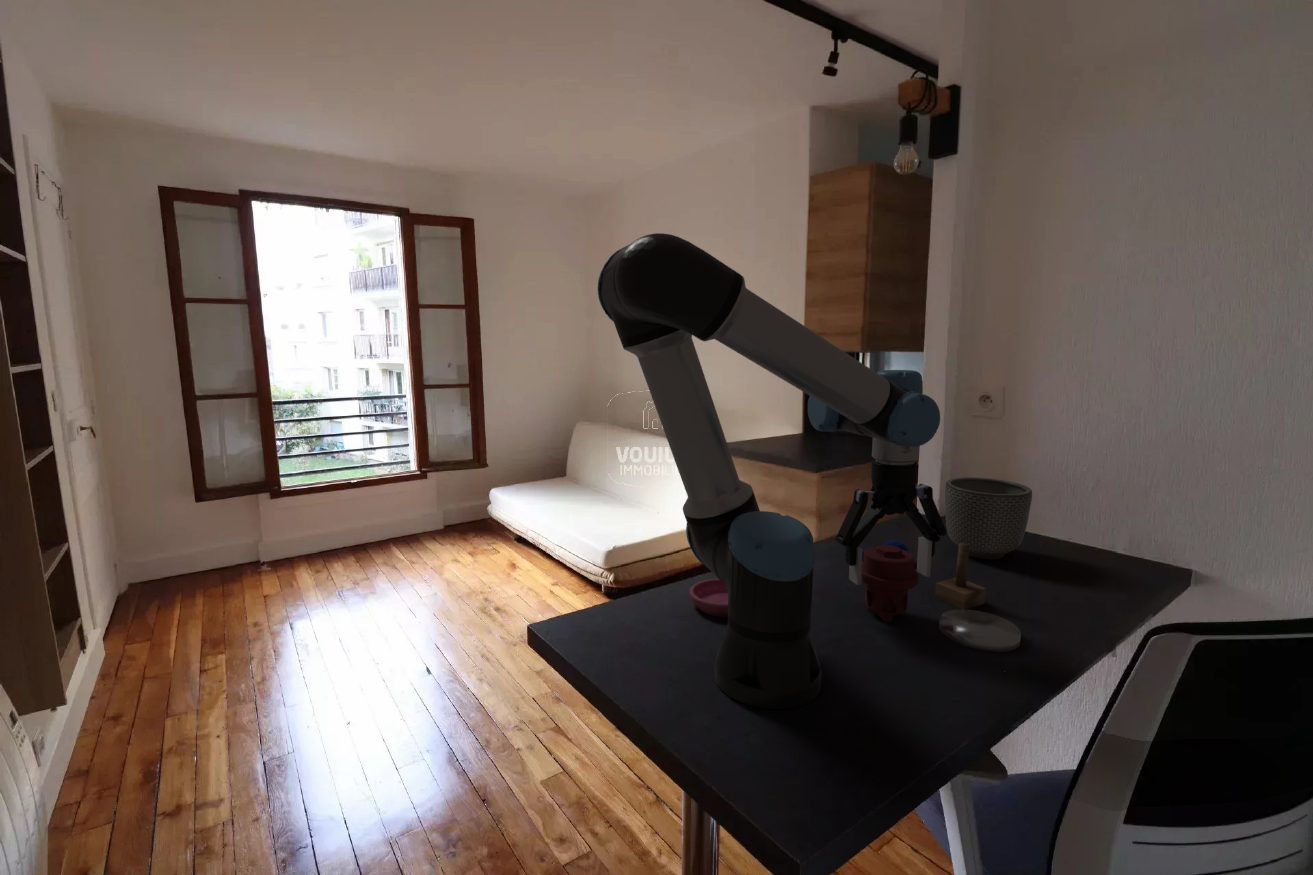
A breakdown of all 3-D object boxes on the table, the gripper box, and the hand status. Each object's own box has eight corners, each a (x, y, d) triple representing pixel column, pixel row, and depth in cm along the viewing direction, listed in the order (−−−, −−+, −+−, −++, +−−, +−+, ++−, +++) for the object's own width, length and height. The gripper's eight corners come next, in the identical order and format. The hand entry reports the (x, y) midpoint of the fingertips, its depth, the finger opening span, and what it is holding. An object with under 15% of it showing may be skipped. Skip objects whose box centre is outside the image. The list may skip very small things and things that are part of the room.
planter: (1042, 567, 132) (1050, 495, 129) (962, 567, 132) (968, 495, 129) (999, 541, 149) (1005, 477, 146) (928, 541, 149) (932, 476, 146)
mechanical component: (909, 604, 113) (920, 629, 104) (852, 600, 115) (859, 624, 106) (913, 541, 111) (926, 560, 102) (856, 537, 113) (863, 556, 104)
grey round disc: (973, 655, 95) (974, 646, 95) (923, 621, 107) (924, 613, 106) (1038, 646, 98) (1039, 638, 98) (982, 614, 109) (983, 606, 109)
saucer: (680, 597, 117) (680, 581, 117) (739, 589, 121) (739, 574, 120) (704, 626, 105) (704, 608, 105) (769, 616, 109) (769, 599, 109)
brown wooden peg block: (963, 609, 111) (968, 552, 109) (934, 597, 116) (939, 542, 115) (984, 603, 114) (989, 546, 112) (955, 591, 119) (960, 537, 117)
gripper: (840, 470, 99) (836, 594, 102) (973, 460, 104) (965, 578, 108) (817, 461, 106) (815, 577, 109) (943, 452, 111) (937, 563, 115)
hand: (889, 578), depth 108 cm, fingers open, 13 cm apart
